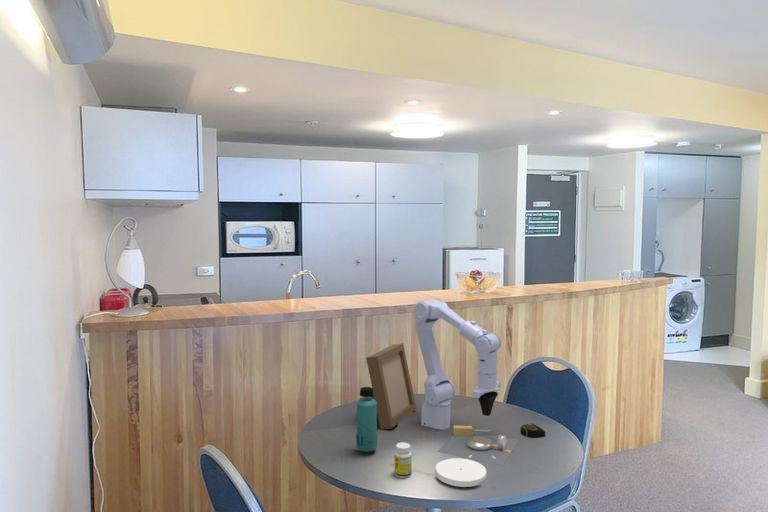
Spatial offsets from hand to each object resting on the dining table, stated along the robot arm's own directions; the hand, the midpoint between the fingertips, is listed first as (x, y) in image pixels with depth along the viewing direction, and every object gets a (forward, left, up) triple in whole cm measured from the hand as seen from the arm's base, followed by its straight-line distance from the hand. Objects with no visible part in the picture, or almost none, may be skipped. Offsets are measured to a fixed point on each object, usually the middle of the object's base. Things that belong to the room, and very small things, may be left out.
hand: (486, 414), depth 169 cm
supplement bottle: (-15, -30, -10) cm, 35 cm away
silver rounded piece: (+1, -4, -8) cm, 9 cm away
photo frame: (-39, +7, -10) cm, 41 cm away
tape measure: (+12, +14, -10) cm, 21 cm away
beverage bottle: (-31, -22, -10) cm, 39 cm away
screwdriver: (-6, +4, -9) cm, 11 cm away
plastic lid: (0, -24, -10) cm, 26 cm away
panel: (-1, -4, -10) cm, 11 cm away
